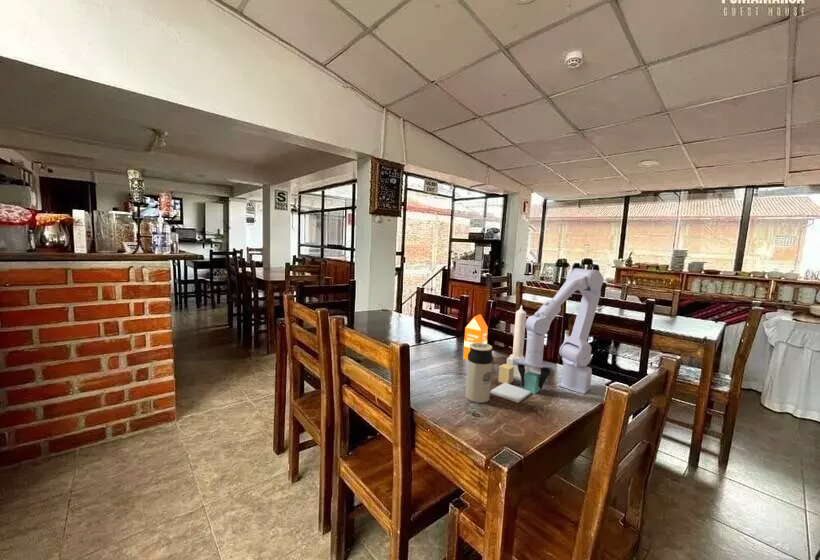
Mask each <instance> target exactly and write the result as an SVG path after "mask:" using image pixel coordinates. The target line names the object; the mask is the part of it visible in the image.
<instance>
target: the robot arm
mask: <svg viewBox="0 0 820 560" xmlns="http://www.w3.org/2000/svg"><path fill="white" fill-rule="evenodd" d="M604 280H605V279H604V276H603V275H602V273H601V271H599V270H597V269H584V268H578V267H575V268H573V269H571V270H570V272H569V273H568V274H567V275H566V280H565V281H564V283H563V284H562V286H561V287H560V289H559V290H558V291H557V292H556V294H555V295H554V296H553V297H552V299H547V300H545V301H544V302H543V303H542V305H541V306H540V307H539V309H538V310H537V311H535V312H534V314H533V315H530V316H528V318H527V317H526V322H525V323H524V324H525V330H526V334H527V336H526V347H525V349H526V350H525V359H514V358H512V365H517V366H518V370H519V373H520V376H521V380H520V381H521V387H524V376H525V366H528V367H529V368H538V369H540V385H539V390H540V389H541V390H542V389H543V386H544V384H545V382H546V380H547V378H548V377H549V376H550V374H551V370H552V371H554V372H555V371H556V370H557V369H556V368H557V364H556V363H554V362H549V361H544V360H543V358H544V349H545V348H544V347H545V337H546V334H547V333H548V332H550V331H549V330H550V326H551V324H552V322H553V320H554V319H555V318H556V317H557V316H558V314H559V313H560V312H561V311H562V310H561V309H562V308H561V307H562V306H561V305H563V303H565V302H566V301H568V299H569V298H570V297H571V296H572V295H573V293H575V292H576V291H579V292H580V293H581V295H582V297H581V300H580V303H579V307H578V310H577V313H576V317H575V321H574V324H573V327H572V331H571V333H570V334H571V335H569V336H568V337H565V338H564V340H563V342H562V344H561V345H560V347H559V351H558V352H559V355H560V357H561V360H562V370H561V371H562V372H561V379H560V380H561V381H560V382H558V383H557V384H556V385H557V386H558V387H561V388H563V389H566V390H569V391H570V390H571V391H573V392H576V393H580V394H582V395H585V394H586V393H587V392H588V391H589V390H590V389H591V388H592V387H591V385H592V384H591V383H592V375H593V374H592V373H593V371H592V369H593V368H592V367H589V366H588V365H589V363H590V362H591V359H592V345H591V344H590V343H589V342H588V338H589V336H590V335H589V334H590V332H591V328H592V324H593V321H594V318H595V315H596V311H597V308H598V306H599V302H600V298H601V294H602V292H601V290H602V286H603V283H604Z"/></svg>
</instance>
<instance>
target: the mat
mask: <svg viewBox="0 0 820 560" xmlns="http://www.w3.org/2000/svg"><path fill="white" fill-rule="evenodd" d="M490 394H493V395H496V396H498V397H501V398H504V399H506V400H508V401H509V400H510V401H512V402H515V403H517V404H518V403H520V402H521V401H523V400H524V399H526V398H527V397H528V396H530V395H531V394H532V393H531V391H528V390H525V389H524V388H522V387H518V386H517V385H512V384H511V383H510V384H508V383H505V382H504V383H501V384H499V385H497V386H495V388H492V389H490Z"/></svg>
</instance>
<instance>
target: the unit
mask: <svg viewBox="0 0 820 560" xmlns="http://www.w3.org/2000/svg"><path fill="white" fill-rule="evenodd" d="M512 358H514V357H510V356H508V357H507V358H506V364H507V365H510V366H514V375H513V379H516V380H518V381H521V376H520V373H519V370H518V366H517V365H512ZM514 359H518V358H514ZM529 371H530V367H528V366H525V374H526V373H527V372H529ZM524 379H525V376H524Z"/></svg>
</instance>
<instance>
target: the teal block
mask: <svg viewBox="0 0 820 560" xmlns="http://www.w3.org/2000/svg"><path fill="white" fill-rule="evenodd" d="M540 375H541V373H536V372H534V371H531V370H529V372H527V373H526V374H525V379H524V386H523V389H525V390H528V391H531V394H534V395H535V394H536V393H538V392H539V391H540V387H539V385H540Z"/></svg>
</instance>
